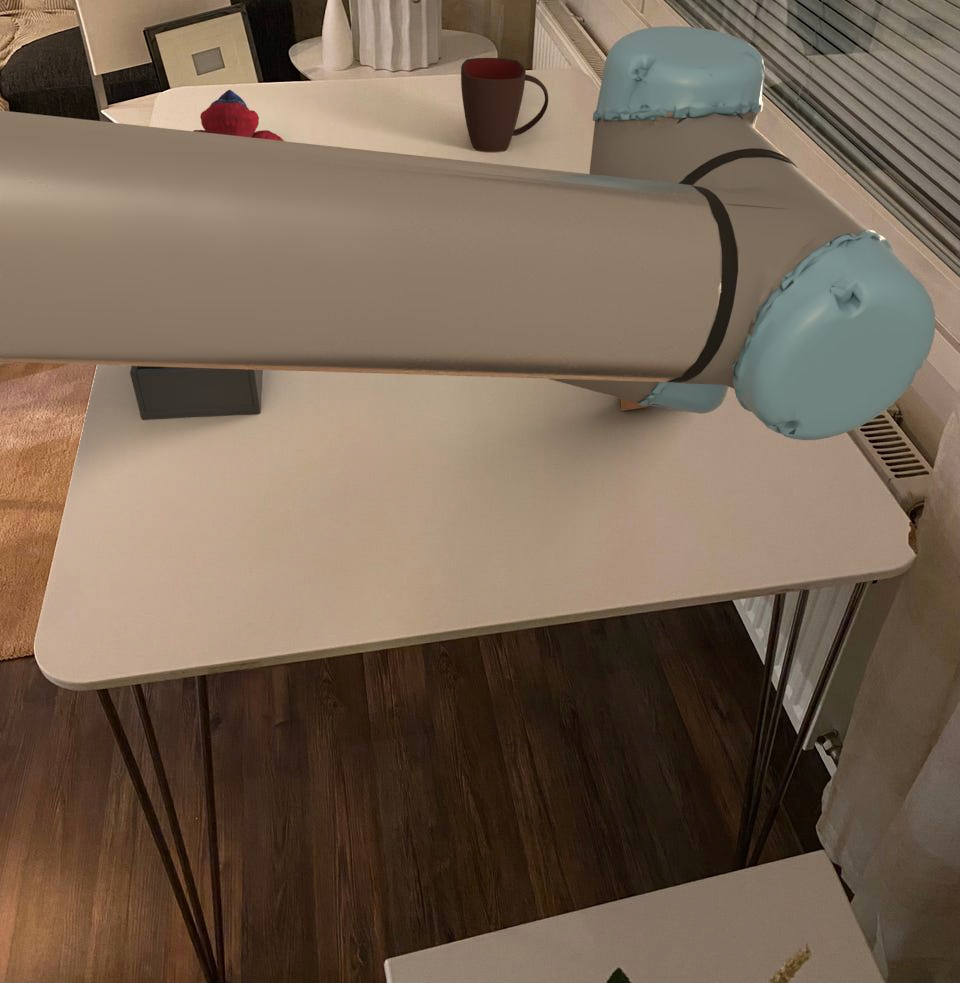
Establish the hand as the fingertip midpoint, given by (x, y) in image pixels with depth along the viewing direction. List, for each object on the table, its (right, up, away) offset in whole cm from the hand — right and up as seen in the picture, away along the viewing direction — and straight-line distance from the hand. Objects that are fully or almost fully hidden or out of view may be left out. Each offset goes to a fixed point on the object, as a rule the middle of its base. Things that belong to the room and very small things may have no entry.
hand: (164, 224), depth 62 cm
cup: (+24, +39, +95) cm, 105 cm away
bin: (-10, -5, +44) cm, 46 cm away
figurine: (-13, +22, +74) cm, 78 cm away
